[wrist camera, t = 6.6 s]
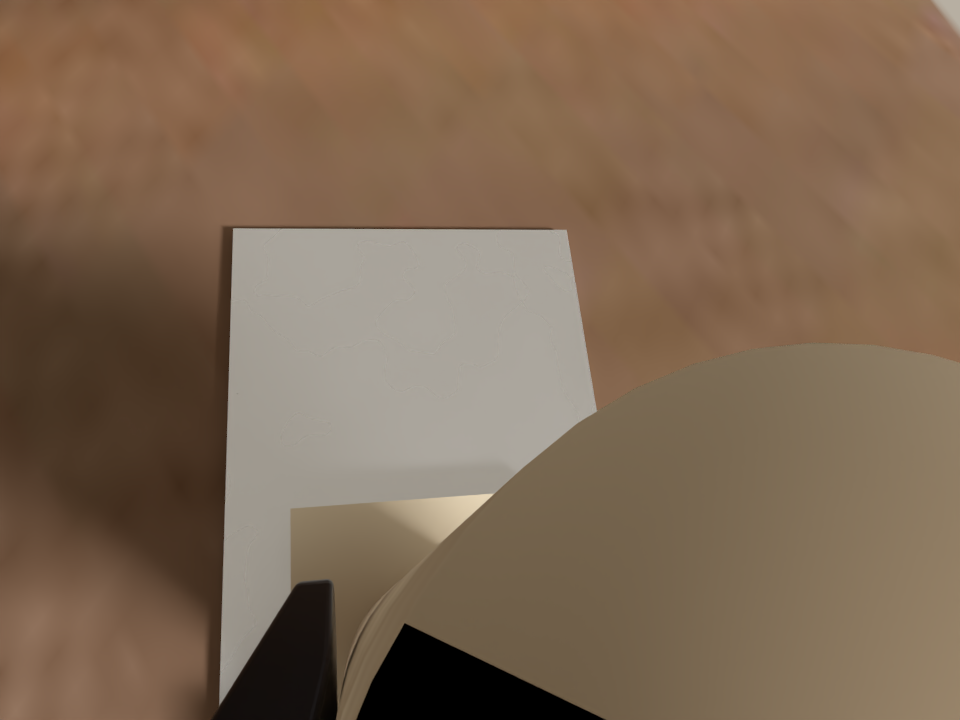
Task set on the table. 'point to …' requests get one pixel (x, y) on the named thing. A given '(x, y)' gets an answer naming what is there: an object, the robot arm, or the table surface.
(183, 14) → the table surface
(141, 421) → the table surface
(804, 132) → the table surface
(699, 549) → the beige peg stand
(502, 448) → the grey rectangular plate
